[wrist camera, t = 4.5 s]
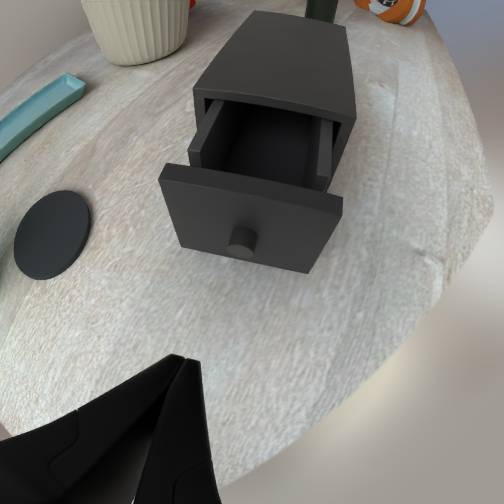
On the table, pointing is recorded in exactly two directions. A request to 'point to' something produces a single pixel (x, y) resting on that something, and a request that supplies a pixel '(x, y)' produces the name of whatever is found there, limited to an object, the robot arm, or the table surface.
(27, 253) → the coaster
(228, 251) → the drawer
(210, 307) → the table surface
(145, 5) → the canister
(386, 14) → the alarm clock
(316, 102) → the cabinet
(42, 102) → the rectangular tray
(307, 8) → the wine bottle
